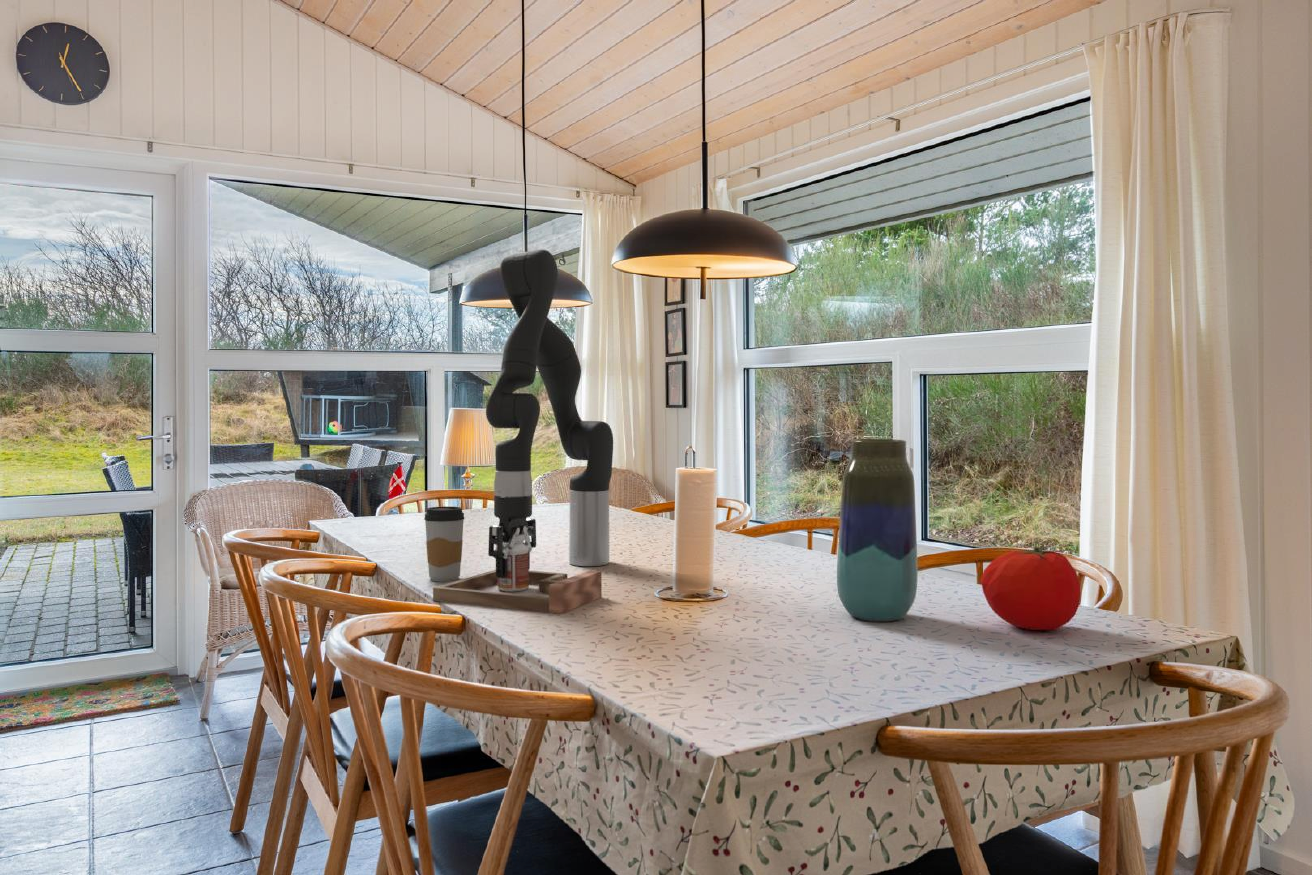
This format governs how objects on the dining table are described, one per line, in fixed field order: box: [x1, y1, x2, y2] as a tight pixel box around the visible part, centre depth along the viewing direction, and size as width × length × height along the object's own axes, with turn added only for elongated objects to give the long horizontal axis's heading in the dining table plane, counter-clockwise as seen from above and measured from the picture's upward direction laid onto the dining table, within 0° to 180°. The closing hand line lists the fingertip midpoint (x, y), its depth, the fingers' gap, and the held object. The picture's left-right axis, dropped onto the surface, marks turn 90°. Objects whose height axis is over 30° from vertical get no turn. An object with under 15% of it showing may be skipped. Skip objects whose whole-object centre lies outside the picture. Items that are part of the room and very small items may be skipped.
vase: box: [836, 438, 919, 623], centre depth 165 cm, size 14×14×31 cm
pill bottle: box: [497, 534, 530, 593], centre depth 188 cm, size 6×6×11 cm
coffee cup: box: [423, 506, 465, 582], centre depth 199 cm, size 8×8×15 cm
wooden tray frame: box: [432, 569, 603, 615], centre depth 183 cm, size 24×28×5 cm
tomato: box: [980, 544, 1081, 631], centre depth 158 cm, size 16×14×14 cm
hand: (513, 573), depth 188 cm, fingers open, 8 cm apart
